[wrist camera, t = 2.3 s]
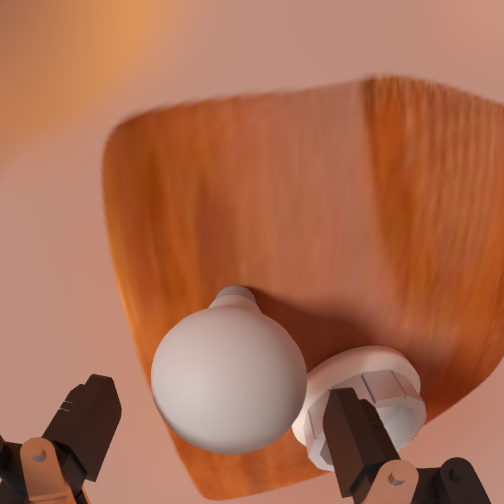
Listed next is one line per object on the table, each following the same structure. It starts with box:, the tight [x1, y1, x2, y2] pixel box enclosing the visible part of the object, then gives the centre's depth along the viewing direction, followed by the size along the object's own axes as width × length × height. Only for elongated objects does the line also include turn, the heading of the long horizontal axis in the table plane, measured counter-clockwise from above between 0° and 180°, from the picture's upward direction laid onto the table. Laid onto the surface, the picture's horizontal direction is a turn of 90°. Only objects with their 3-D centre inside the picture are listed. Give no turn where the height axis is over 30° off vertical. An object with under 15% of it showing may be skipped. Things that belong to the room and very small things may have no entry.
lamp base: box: [292, 345, 426, 472], centre depth 19 cm, size 11×11×5 cm
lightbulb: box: [151, 285, 307, 455], centre depth 13 cm, size 6×6×11 cm
